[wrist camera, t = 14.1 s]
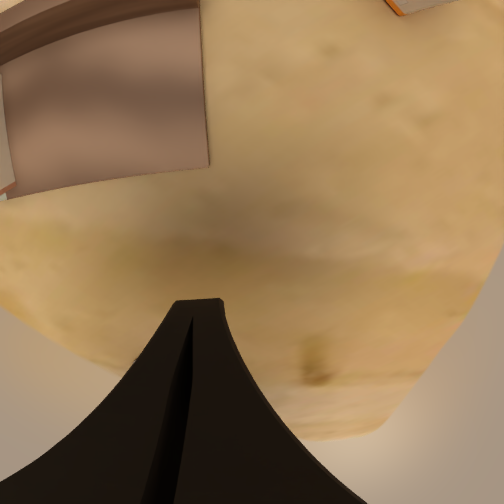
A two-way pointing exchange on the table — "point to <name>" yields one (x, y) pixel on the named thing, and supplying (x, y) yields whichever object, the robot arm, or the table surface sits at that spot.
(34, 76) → the shelf
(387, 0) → the supplement box
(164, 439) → the robot arm
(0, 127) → the cream rectangular block
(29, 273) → the table surface
